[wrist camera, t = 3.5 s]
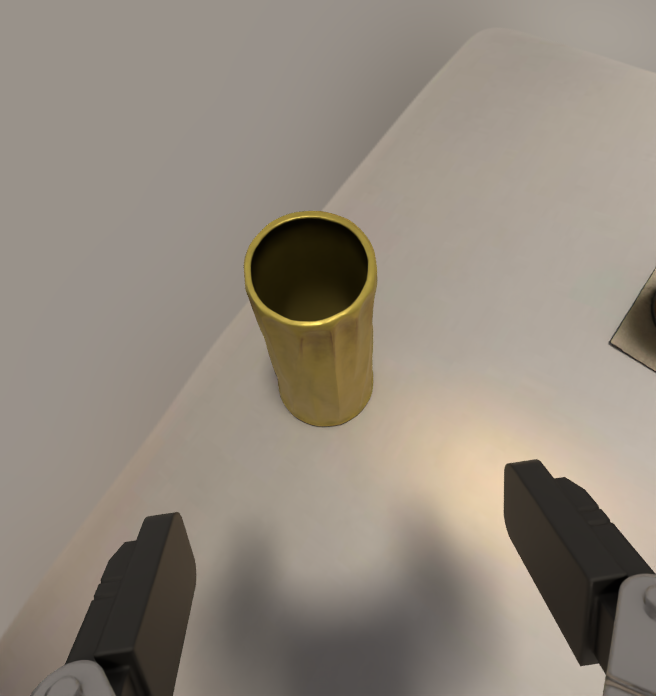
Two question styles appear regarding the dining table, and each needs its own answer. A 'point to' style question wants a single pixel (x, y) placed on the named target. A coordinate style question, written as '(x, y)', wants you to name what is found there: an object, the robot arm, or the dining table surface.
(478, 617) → the dining table surface
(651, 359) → the condiment
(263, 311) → the vase
